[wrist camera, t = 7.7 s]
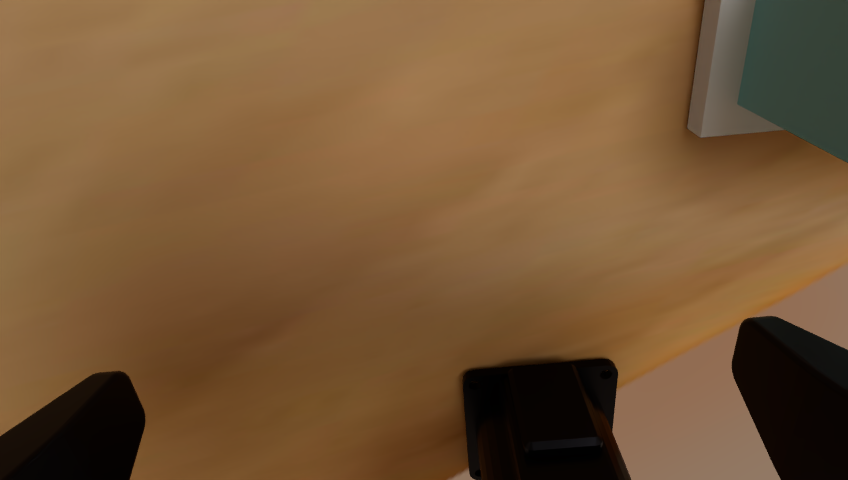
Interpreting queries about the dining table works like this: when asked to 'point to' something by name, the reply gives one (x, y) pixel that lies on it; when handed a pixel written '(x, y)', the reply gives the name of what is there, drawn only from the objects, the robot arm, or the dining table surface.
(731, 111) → the base board
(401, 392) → the dining table surface
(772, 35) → the socket block
